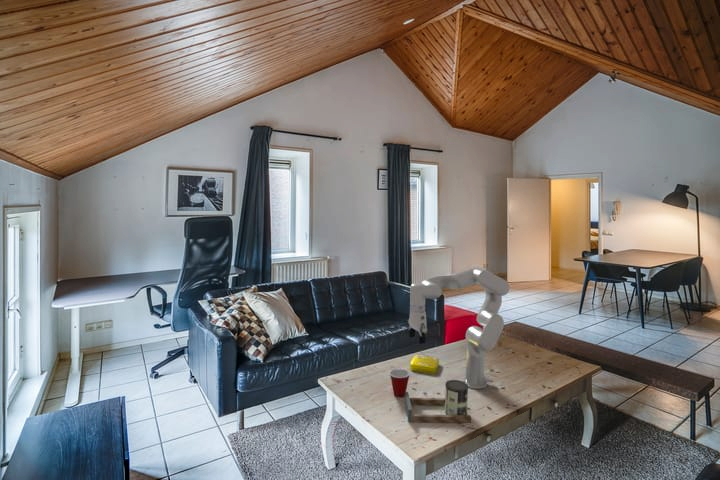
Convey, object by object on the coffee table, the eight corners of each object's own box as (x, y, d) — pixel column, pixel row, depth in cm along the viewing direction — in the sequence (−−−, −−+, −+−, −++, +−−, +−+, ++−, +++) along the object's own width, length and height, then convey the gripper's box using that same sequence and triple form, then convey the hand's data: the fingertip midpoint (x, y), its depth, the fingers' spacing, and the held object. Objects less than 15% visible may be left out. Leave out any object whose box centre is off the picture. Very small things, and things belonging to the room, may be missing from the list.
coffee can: (466, 408, 184) (467, 380, 183) (467, 421, 174) (469, 391, 173) (444, 406, 186) (445, 378, 185) (444, 418, 176) (445, 388, 175)
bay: (462, 404, 188) (462, 392, 187) (471, 423, 172) (471, 410, 171) (404, 403, 188) (405, 391, 188) (408, 422, 173) (408, 409, 172)
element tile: (409, 370, 225) (409, 362, 225) (415, 360, 239) (415, 353, 239) (435, 375, 220) (435, 367, 219) (439, 364, 234) (439, 357, 233)
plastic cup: (401, 387, 204) (401, 365, 203) (414, 396, 195) (414, 374, 194) (384, 392, 199) (384, 370, 197) (396, 402, 190) (397, 379, 188)
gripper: (433, 311, 190) (432, 344, 192) (415, 302, 205) (414, 333, 207) (420, 313, 187) (419, 347, 189) (402, 304, 203) (402, 335, 204)
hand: (417, 340), depth 198 cm, fingers open, 9 cm apart
